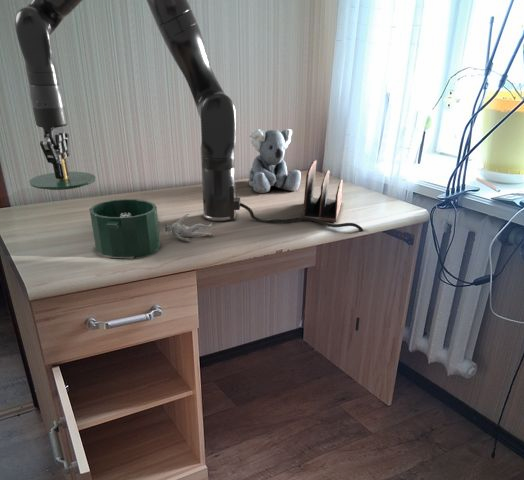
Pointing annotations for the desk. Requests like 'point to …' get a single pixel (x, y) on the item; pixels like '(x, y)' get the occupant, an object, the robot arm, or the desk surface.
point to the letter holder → (321, 198)
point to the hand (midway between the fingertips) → (62, 176)
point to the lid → (62, 180)
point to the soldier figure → (186, 229)
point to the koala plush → (272, 162)
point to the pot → (125, 228)
